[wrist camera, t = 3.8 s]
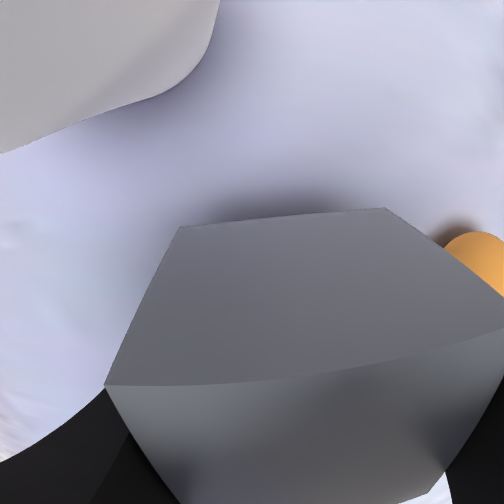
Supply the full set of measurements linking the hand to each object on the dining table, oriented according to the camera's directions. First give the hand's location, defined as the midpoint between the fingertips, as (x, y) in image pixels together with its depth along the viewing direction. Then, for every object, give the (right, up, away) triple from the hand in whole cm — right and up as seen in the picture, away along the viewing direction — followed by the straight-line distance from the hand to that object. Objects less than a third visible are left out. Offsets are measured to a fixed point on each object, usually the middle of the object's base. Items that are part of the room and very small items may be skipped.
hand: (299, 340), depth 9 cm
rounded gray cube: (0, +1, +1) cm, 2 cm away
